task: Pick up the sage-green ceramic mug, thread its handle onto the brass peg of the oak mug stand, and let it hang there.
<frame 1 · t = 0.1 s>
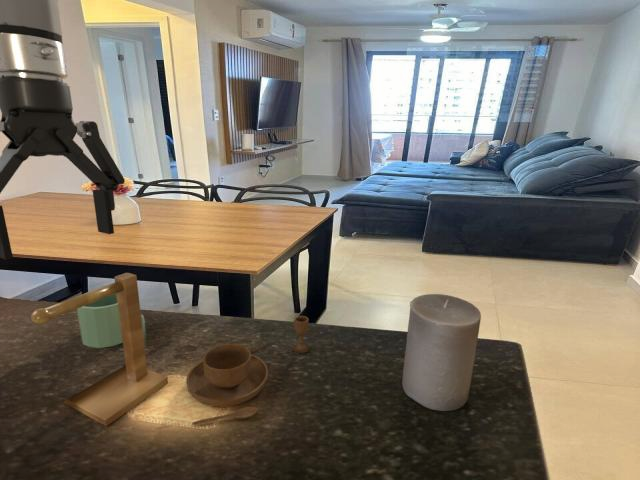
hand: (60, 243, 53), 21 cm above the kitchen counter, tool pointing down, fingers open, 13 cm apart
mug: (111, 343, 67), on the kitchen counter
mug stand: (111, 389, 56), on the kitchen counter
pillar candle: (433, 390, 58), on the kitchen counter
place setting: (255, 380, 59), on the kitchen counter
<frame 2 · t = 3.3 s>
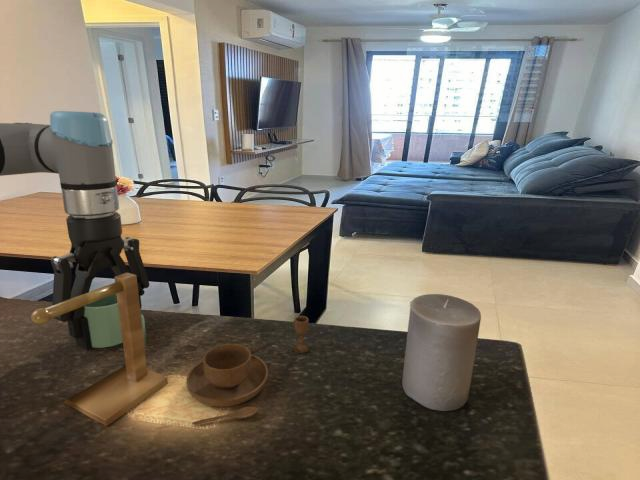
hand: (111, 339, 67), 1 cm above the kitchen counter, tool pointing down, fingers closed on mug, 9 cm apart
mug: (111, 343, 67), on the kitchen counter, touching gripper
everything else where it was.
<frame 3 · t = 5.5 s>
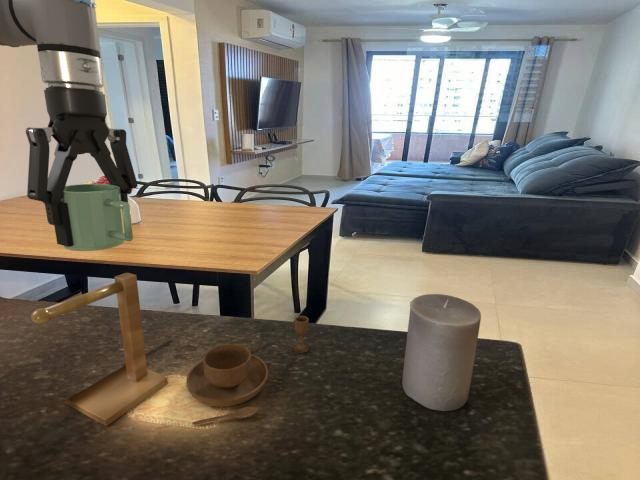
hand: (94, 237, 62), 20 cm above the kitchen counter, tool pointing down, fingers closed on mug, 9 cm apart
mug: (95, 242, 62), point 19 cm above the kitchen counter, touching gripper
everything else where it was.
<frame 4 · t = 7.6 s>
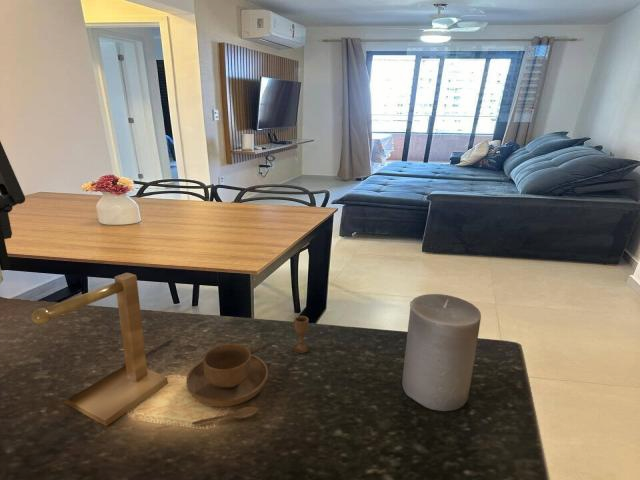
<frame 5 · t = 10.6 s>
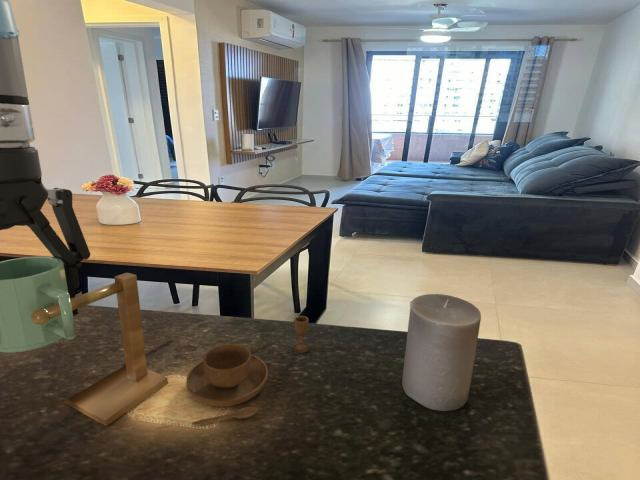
hand: (32, 327, 48), 12 cm above the kitchen counter, tool pointing down, fingers closed on mug, 9 cm apart
mug: (33, 333, 49), point 11 cm above the kitchen counter, touching gripper
everything else where it was.
when the fingers open (11 cm above the kitchen counter, at t = 12.0 s): mug moves 15 cm and tips over, resting on mug stand.
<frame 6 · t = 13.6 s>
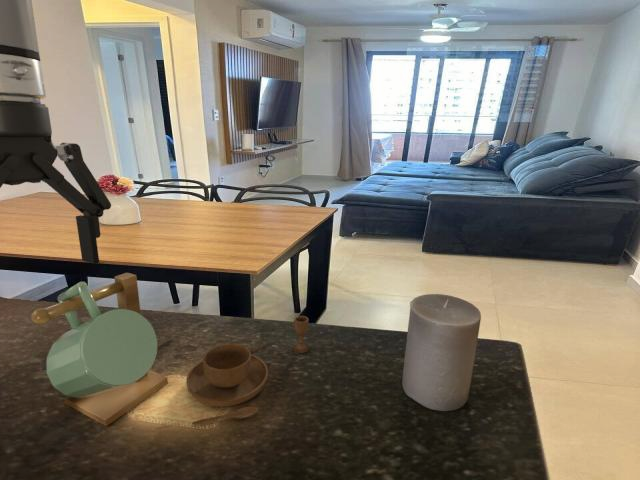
hand: (39, 277, 48), 18 cm above the kitchen counter, tool pointing down, fingers open, 13 cm apart
mug: (123, 345, 44), point 13 cm above the kitchen counter, tilted 120°, touching mug stand
everything else where it was.
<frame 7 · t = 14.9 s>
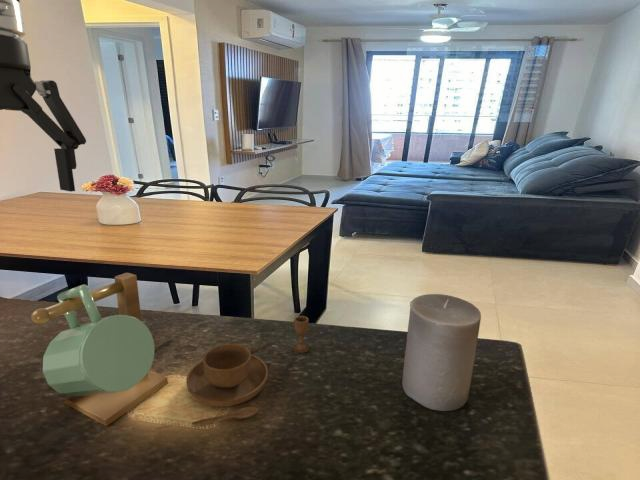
hand: (20, 196, 56), 27 cm above the kitchen counter, tool pointing down, fingers open, 13 cm apart
mug: (121, 352, 44), point 12 cm above the kitchen counter, tilted 114°, touching mug stand
everything else where it was.
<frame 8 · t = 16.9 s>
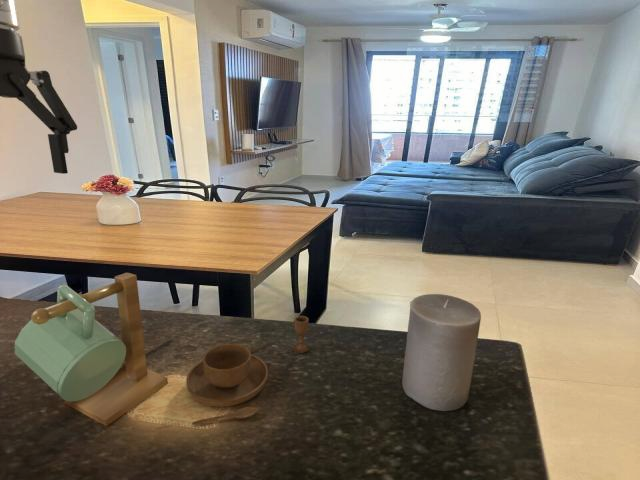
hand: (16, 176, 61), 29 cm above the kitchen counter, tool pointing down, fingers open, 13 cm apart
mug: (95, 370, 48), point 8 cm above the kitchen counter, tilted 70°, touching mug stand
everything else where it was.
at the end: mug touching mug stand; mug point 7.5 cm above the kitchen counter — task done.
